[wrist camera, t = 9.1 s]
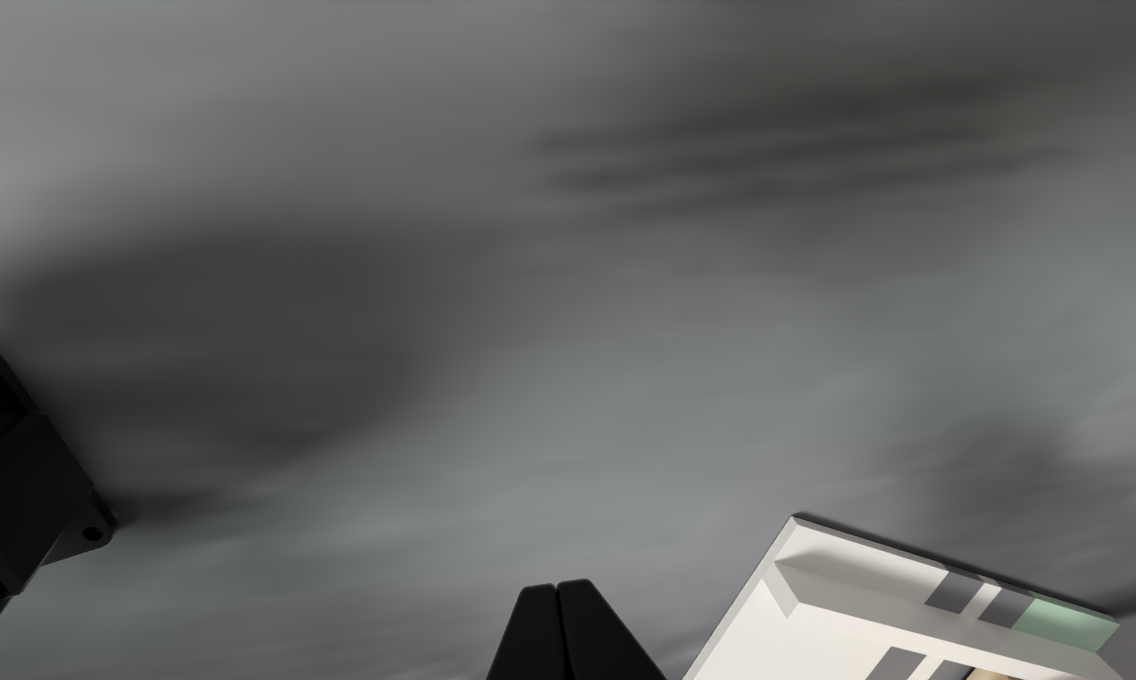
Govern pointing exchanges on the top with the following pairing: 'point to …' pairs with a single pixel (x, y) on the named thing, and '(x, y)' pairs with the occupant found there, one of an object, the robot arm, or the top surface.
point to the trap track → (892, 620)
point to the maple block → (989, 675)
